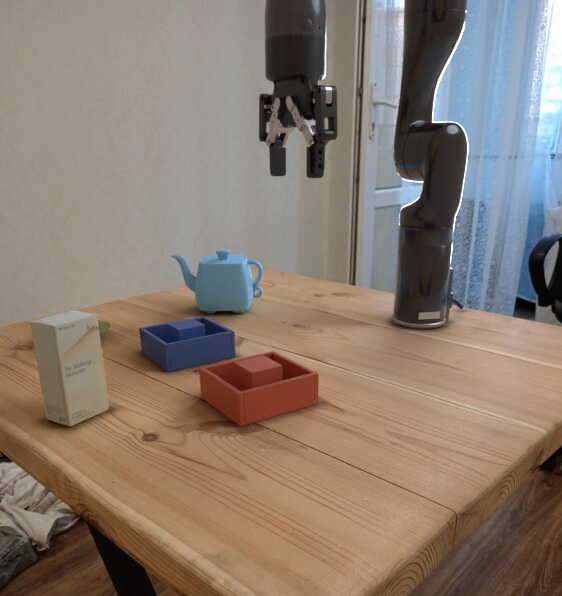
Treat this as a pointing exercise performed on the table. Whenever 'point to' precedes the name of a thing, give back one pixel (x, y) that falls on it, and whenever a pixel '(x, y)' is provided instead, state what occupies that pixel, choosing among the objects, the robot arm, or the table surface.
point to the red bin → (259, 390)
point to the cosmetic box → (70, 366)
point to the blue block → (185, 330)
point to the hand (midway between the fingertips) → (295, 177)
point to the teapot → (222, 282)
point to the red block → (256, 373)
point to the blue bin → (187, 346)
